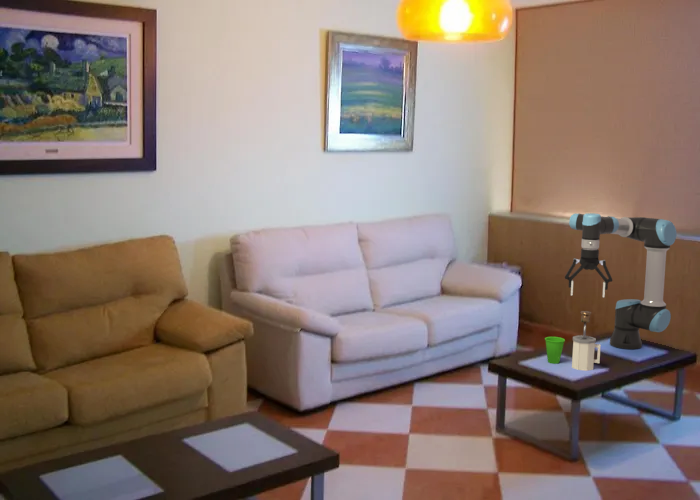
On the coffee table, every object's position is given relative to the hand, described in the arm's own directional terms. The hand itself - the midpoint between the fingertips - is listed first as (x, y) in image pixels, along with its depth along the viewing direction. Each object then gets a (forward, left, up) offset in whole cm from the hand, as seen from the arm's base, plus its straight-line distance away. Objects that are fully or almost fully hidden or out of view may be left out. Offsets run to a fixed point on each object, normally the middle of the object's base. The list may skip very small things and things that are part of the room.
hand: (587, 295), depth 363 cm
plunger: (0, 0, -29) cm, 29 cm away
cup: (+6, -12, -33) cm, 36 cm away
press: (0, +1, -33) cm, 33 cm away
